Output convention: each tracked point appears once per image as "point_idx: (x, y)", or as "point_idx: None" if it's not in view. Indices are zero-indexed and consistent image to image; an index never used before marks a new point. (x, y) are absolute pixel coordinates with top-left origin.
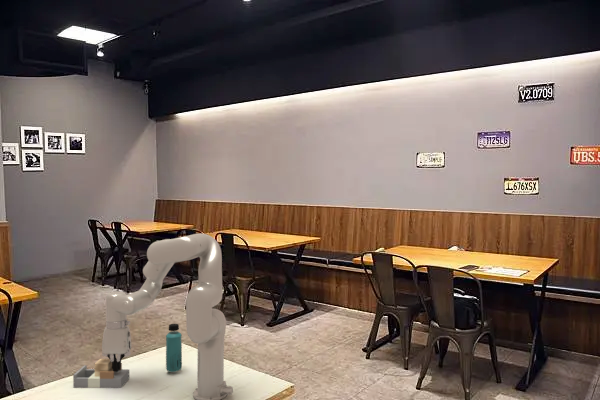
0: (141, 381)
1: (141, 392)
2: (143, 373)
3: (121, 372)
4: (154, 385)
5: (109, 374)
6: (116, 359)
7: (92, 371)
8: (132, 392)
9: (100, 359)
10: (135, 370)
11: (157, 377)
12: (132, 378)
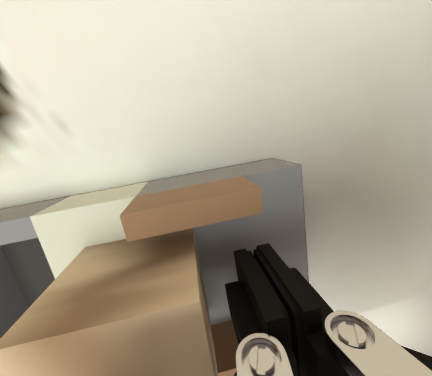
0: (353, 185)
1: (388, 288)
2: (327, 70)
3: (268, 228)
4: (425, 214)
5: None
6: (289, 348)
7: (4, 240)
8: (352, 298)
9: (20, 371)
10: (255, 21)
11: (420, 117)
12: (291, 158)
